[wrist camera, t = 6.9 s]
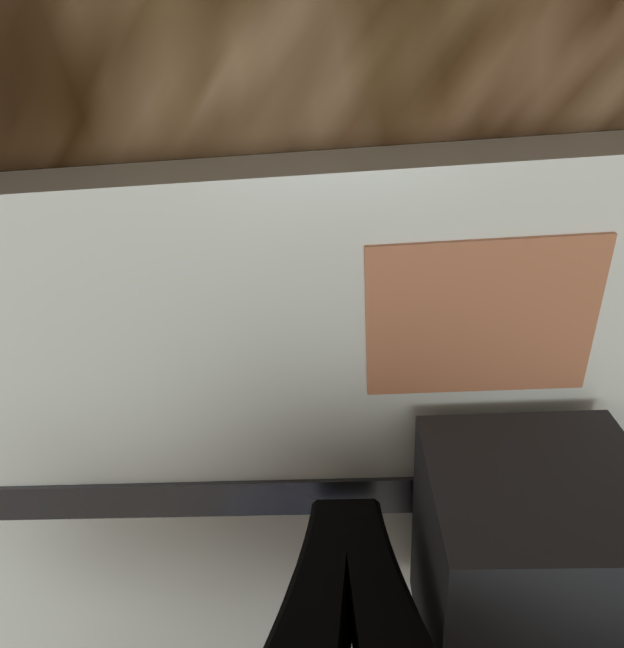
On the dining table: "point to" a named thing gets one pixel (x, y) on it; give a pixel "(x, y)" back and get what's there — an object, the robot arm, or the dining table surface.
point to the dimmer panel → (273, 360)
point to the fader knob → (519, 529)
